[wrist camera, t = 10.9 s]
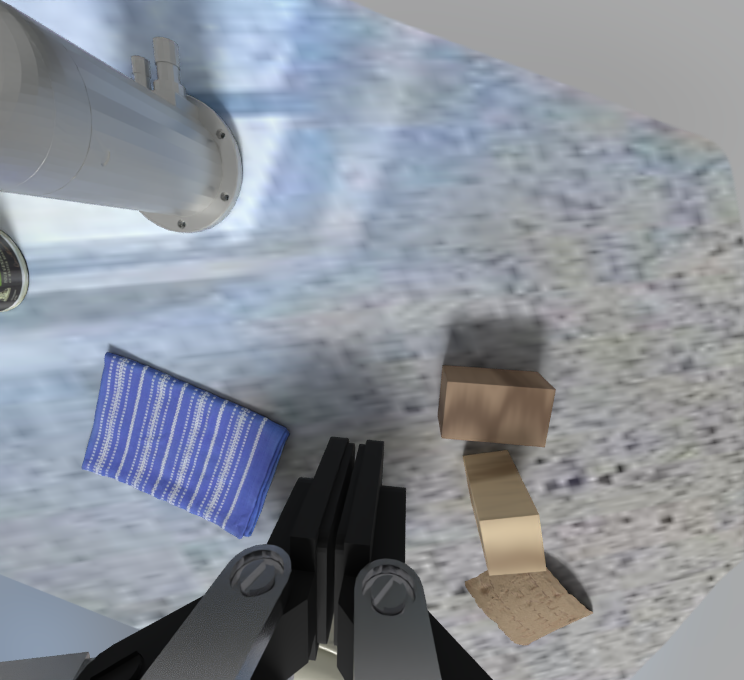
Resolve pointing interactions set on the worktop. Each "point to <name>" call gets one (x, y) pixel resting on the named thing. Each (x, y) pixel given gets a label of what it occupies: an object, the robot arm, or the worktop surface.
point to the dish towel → (183, 445)
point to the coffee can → (11, 274)
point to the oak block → (504, 515)
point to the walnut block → (495, 405)
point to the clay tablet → (525, 603)
